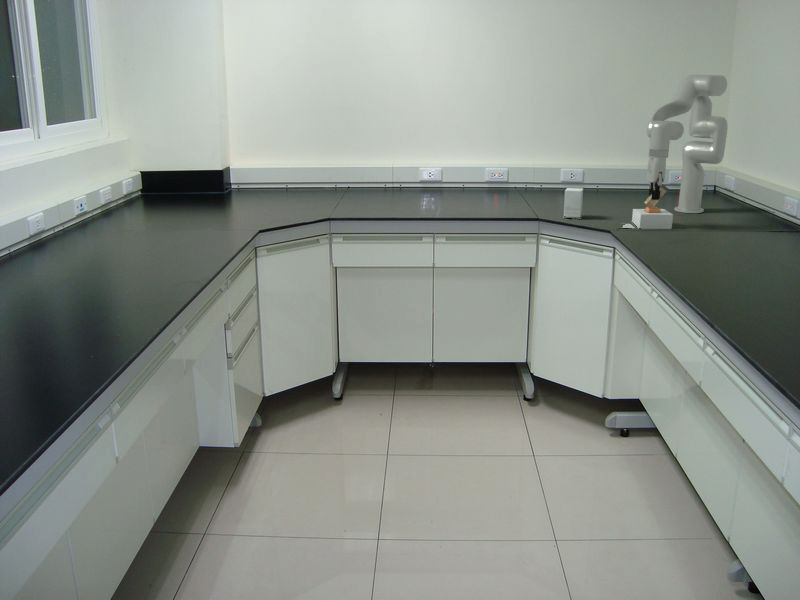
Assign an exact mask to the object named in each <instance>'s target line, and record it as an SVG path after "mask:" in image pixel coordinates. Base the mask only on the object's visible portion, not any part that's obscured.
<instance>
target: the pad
mask: <svg viewBox="0 0 800 600" xmlns="http://www.w3.org/2000/svg"><path fill="white" fill-rule="evenodd" d="M624 224H625V225H623V227H622V228H632V229H631V230H636V226H634V225H632V223H624Z"/></svg>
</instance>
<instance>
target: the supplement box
mask: <svg viewBox="0 0 800 600" xmlns="http://www.w3.org/2000/svg"><path fill="white" fill-rule="evenodd" d="M583 196H584V188H581V187H567V188H566V189H565V190H564V205H563V217H564V216H566V217H581V218H582V216H581V215H583V198H584V197H583Z"/></svg>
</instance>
